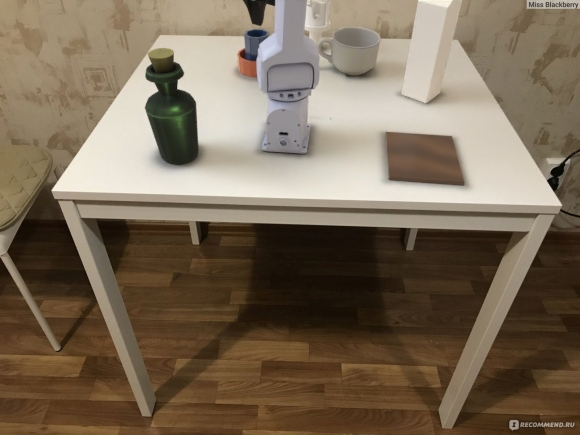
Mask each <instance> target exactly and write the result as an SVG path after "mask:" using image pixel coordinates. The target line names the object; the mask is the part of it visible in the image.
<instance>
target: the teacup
mask: <svg viewBox="0 0 580 435" xmlns="http://www.w3.org/2000/svg"><path fill="white" fill-rule="evenodd" d="M381 41H382V37H381V35H380V34H379V33H378V32H376V31H375V30H373V29H371V28H367V27H362V26H343V27H339V28H337V29H335V30H334V31H333V32H332V35H331V38H330V37H329V36H324V37H323V36H322V38H321V39H320V40H319V41H318V43H317V49H318V52H319V56H321V57H322V58H324V59H325V60H327V61H328V63H329V64H332V65H333V66H334V68H335V69H337V70H338V71H339V72H341V73H342V74H345V75H347V76H361V75H364V74H366V73H367V72H369V71H370V70H372V69H373V68H374V66H375V65H376V64H377V60H378V55H379V49H380V44H381ZM325 43H327V44H328V45H329V48H330V50H331V52H330V54H328V53H326V52H325V51H324V50H323V49H322V45H323V44H325Z"/></svg>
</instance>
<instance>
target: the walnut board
mask: <svg viewBox="0 0 580 435" xmlns="http://www.w3.org/2000/svg"><path fill="white" fill-rule="evenodd" d="M384 134H385V146H386V162H387V176H388V180H389V181H399V182H400V181H401V182H412V183H413V182H415V183H427V184H442V185H454V186H455V185H457V186H464V185H465V179H464V176H463V175H464V174H463V172H462V168H461V165H460V161H459V157H458V153H457V149H456V145H455V142H454V139H453V136H452V135H441V134H426V133H414V132H413V133H412V132H411V133H410V132H399V131H398V132H395V131H385V133H384Z"/></svg>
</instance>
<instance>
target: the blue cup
mask: <svg viewBox="0 0 580 435" xmlns="http://www.w3.org/2000/svg"><path fill="white" fill-rule="evenodd" d="M269 36H270V31H268V30H266V29H263V28H252V29H249V30H245V32H244V34H243V38H244V48H245V55H246V60H249V61H257V57H258V48H259V44H260V43H262V42H263V41H264V40H265V39H267V38H268V37H269Z"/></svg>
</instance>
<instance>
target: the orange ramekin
mask: <svg viewBox="0 0 580 435" xmlns="http://www.w3.org/2000/svg"><path fill="white" fill-rule="evenodd" d="M236 57H237V58H236V59H237V69H238V72H239V73H240V74H241V75H243V76H246V77H248V78H257V61H249V60H246V55H245V47H242V48H241V49H239V50H238V52H237V54H236ZM257 79H258V78H257Z"/></svg>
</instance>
